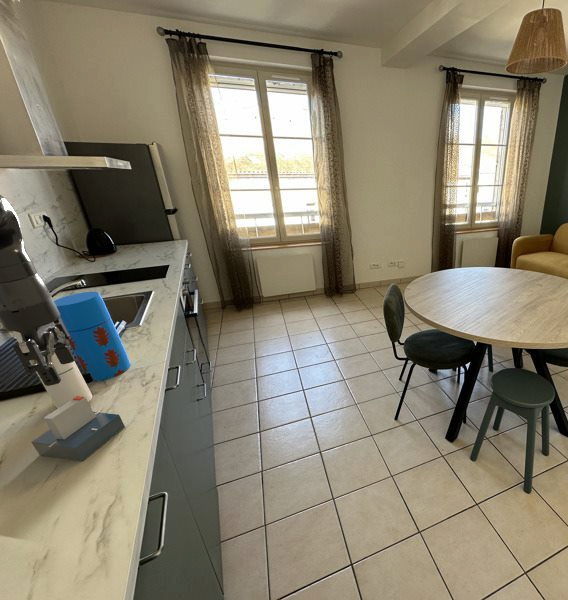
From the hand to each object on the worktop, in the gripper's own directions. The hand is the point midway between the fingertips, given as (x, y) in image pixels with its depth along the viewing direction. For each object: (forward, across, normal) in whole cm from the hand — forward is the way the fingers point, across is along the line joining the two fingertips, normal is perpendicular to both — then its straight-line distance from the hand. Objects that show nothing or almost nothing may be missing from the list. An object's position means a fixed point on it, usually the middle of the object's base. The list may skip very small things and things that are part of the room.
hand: (61, 372), depth 67 cm
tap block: (+20, -4, -4) cm, 21 cm away
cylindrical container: (+20, -23, -10) cm, 33 cm away
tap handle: (+16, -4, -4) cm, 17 cm away
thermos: (+20, -37, -5) cm, 43 cm away
